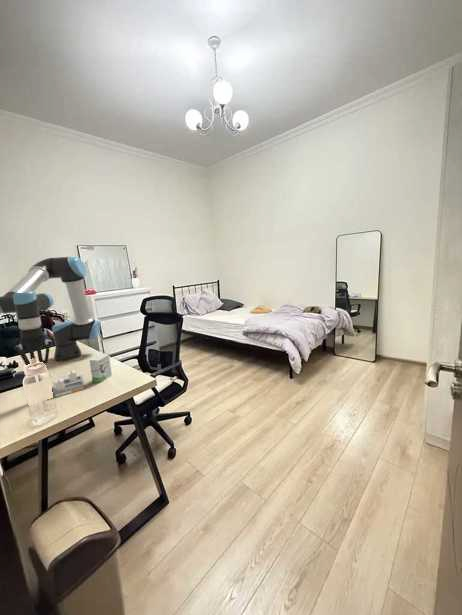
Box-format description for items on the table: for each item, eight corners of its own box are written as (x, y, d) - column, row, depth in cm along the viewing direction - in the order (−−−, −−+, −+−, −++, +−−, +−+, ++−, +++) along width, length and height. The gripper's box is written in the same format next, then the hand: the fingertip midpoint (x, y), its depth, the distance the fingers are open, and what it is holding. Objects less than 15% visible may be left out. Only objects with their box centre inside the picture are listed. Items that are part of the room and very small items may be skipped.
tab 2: (69, 380, 124) (68, 370, 123) (76, 378, 126) (75, 368, 125) (70, 383, 121) (68, 373, 120) (77, 381, 123) (75, 371, 122)
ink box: (103, 374, 133) (100, 353, 131) (112, 375, 132) (109, 353, 130) (92, 382, 124) (88, 360, 122) (101, 382, 123) (97, 360, 121)
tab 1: (57, 388, 116) (55, 378, 115) (64, 386, 117) (62, 376, 117) (57, 392, 113) (55, 381, 112) (65, 390, 114) (63, 379, 113)
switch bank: (54, 386, 122) (53, 382, 122) (82, 379, 128) (82, 375, 128) (54, 397, 111) (53, 392, 111) (85, 389, 118) (84, 384, 117)
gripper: (9, 332, 100) (20, 387, 103) (49, 326, 107) (58, 378, 110) (12, 329, 106) (22, 381, 109) (49, 323, 113) (58, 372, 117)
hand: (40, 379), depth 110 cm, fingers closed
